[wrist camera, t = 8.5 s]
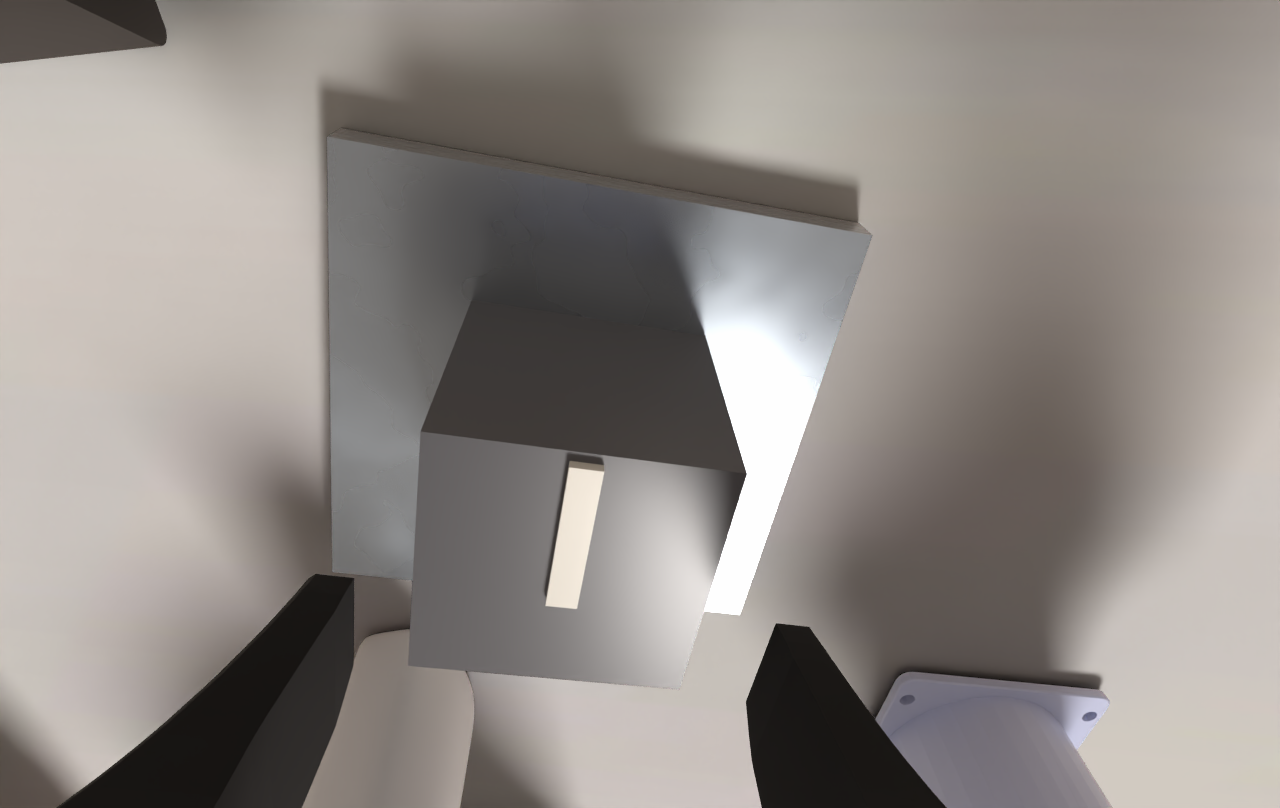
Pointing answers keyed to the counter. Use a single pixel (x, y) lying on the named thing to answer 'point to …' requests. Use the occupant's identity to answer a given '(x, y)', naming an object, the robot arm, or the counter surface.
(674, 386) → the grey cube with stripe
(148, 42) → the phone stand
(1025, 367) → the counter surface
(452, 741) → the eye dropper bottle
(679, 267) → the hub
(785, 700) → the robot arm
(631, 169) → the counter surface
